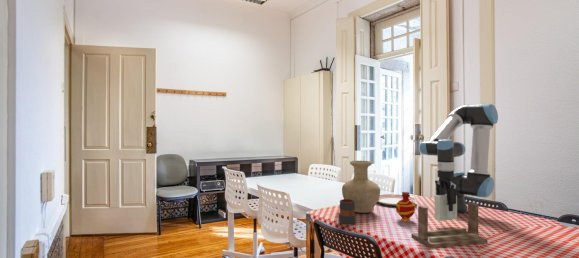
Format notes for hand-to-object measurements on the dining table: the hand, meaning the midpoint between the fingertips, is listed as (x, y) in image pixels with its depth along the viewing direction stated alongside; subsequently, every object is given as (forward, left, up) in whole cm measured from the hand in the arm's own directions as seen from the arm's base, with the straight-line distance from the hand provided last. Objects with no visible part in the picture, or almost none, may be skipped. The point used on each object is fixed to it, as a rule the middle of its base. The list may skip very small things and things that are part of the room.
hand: (446, 215), depth 165 cm
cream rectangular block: (0, 0, -2) cm, 2 cm away
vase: (+30, -37, -6) cm, 48 cm away
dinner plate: (-2, -53, -6) cm, 53 cm away
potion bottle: (+14, -15, -6) cm, 21 cm away
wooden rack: (+13, +17, -5) cm, 22 cm away
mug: (+46, -19, -6) cm, 50 cm away
